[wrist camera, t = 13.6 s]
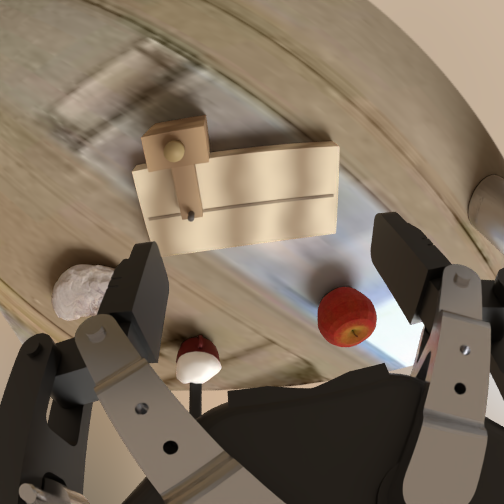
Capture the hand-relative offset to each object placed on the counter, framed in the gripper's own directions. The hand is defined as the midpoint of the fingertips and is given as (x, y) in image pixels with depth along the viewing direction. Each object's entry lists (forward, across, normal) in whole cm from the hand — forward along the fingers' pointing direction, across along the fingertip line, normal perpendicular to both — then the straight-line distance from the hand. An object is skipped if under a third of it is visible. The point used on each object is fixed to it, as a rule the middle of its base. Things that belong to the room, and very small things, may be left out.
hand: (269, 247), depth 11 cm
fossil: (+21, +21, +16) cm, 34 cm away
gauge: (+21, +6, +2) cm, 22 cm away
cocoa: (+21, +10, +30) cm, 38 cm away
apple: (+22, -11, +24) cm, 34 cm away
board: (+21, +1, +7) cm, 22 cm away
